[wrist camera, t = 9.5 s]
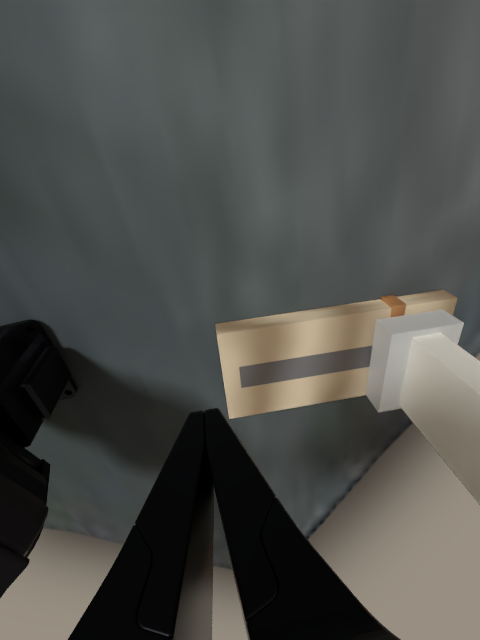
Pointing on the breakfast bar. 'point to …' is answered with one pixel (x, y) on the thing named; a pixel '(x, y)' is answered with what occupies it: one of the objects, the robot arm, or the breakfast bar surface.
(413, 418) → the fader tab
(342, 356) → the fader console
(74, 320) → the breakfast bar surface
